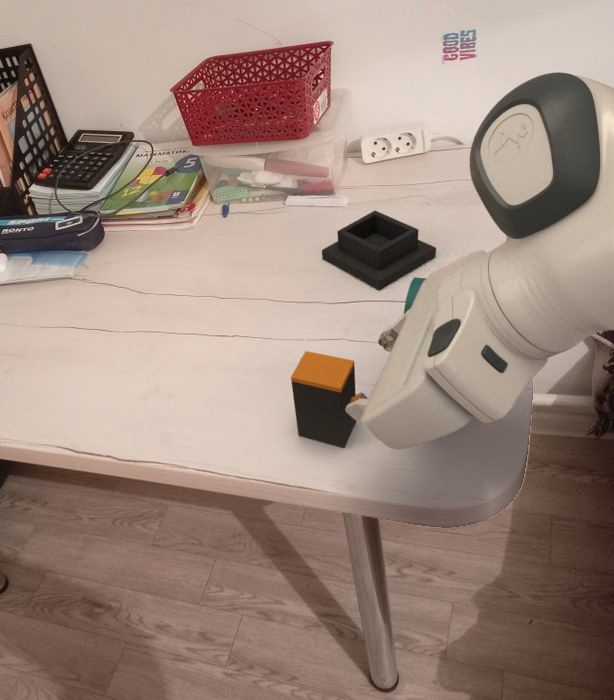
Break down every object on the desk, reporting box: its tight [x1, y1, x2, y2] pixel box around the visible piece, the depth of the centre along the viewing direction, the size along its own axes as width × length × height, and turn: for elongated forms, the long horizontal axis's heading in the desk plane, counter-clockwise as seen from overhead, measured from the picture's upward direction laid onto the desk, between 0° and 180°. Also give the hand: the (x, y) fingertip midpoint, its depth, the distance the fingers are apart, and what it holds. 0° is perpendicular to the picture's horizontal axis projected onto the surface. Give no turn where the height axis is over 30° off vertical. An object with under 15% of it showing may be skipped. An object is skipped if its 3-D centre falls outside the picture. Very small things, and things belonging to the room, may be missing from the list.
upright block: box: [290, 350, 357, 449], centre depth 64 cm, size 5×4×9 cm
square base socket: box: [321, 210, 437, 291], centre depth 85 cm, size 11×10×4 cm
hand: (369, 374), depth 59 cm, fingers open, 8 cm apart
